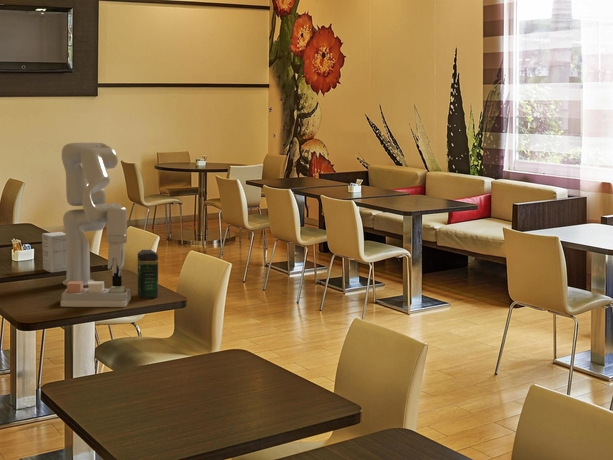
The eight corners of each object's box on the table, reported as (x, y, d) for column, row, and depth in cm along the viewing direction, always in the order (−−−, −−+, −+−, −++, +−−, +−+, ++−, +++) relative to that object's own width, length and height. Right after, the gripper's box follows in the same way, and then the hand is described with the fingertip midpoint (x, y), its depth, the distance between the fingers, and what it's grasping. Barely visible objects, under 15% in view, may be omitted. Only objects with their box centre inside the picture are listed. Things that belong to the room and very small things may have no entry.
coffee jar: (159, 298, 326) (159, 252, 323) (139, 299, 323) (139, 252, 321) (156, 293, 335) (155, 247, 332) (136, 294, 332) (136, 248, 330)
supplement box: (62, 267, 383) (61, 231, 381) (70, 270, 376) (70, 234, 374) (42, 269, 377) (41, 233, 375) (50, 272, 370) (49, 235, 368)
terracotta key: (70, 290, 317) (69, 281, 317) (83, 290, 318) (83, 281, 317) (67, 292, 313) (66, 283, 312) (80, 293, 313) (80, 284, 312)
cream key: (91, 290, 318) (90, 281, 317) (104, 290, 318) (104, 281, 318) (88, 293, 313) (88, 284, 313) (101, 293, 313) (101, 284, 313)
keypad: (68, 298, 322) (68, 287, 321) (130, 299, 323) (130, 287, 323) (60, 306, 309) (60, 294, 308) (125, 306, 311) (125, 295, 310)
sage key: (112, 294, 319) (112, 285, 318) (125, 294, 319) (125, 286, 319) (109, 297, 314) (109, 288, 313) (123, 297, 314) (123, 288, 314)
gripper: (110, 235, 320) (110, 281, 323) (103, 242, 306) (103, 290, 309) (129, 235, 321) (129, 281, 324) (123, 242, 306) (123, 290, 309)
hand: (117, 285), depth 316 cm, fingers closed
